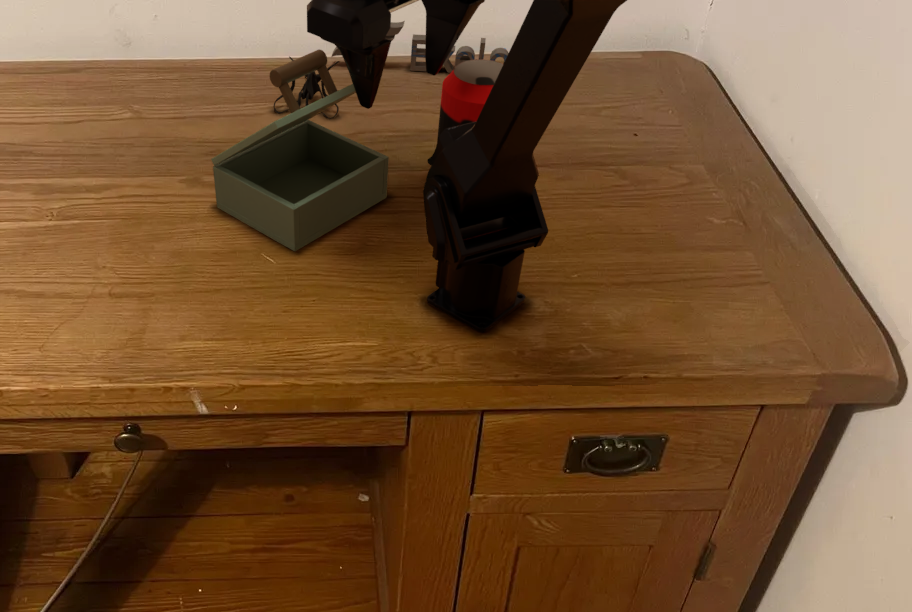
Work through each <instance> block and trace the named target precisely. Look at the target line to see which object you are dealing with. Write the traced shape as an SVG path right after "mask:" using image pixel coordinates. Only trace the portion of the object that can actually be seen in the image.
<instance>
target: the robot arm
mask: <svg viewBox="0 0 912 612" xmlns="http://www.w3.org/2000/svg"><path fill="white" fill-rule="evenodd" d="M419 1H420V0H310V1H309V2H308V3H307V5H306V32H307V33H309V34H311V35H313V36H317V37H318V38H320V39H321V40H323V41H325V42H328V43H330V44H333V45H334V46H335V48H336V47H337V48H338V49H339V50H340V52H341V54H342V55H341V56H342V58H343V61H344V63H345V65H346V68H347V70H348V74H349V77H350V79H351V82H352V84H353V85H354V88H355V91H356V93H355V94H356V97H357V100H358V103H359V105H360V107H362V108H365V109H367V110H369V109H372V107H373V105H374V103H375V100H376V97H377V95H378V91H379V88H380V84H381V80H382V76H383V72H384V69H385V65H386V62H387V59H388V56H389V51H390V48H391V44H392V41H391V40H388V39H386V38H385V37H386V35H387V33H388V31H389V29H390V27H391V22H392V13H393V12H396V11H398V10H401V9H403V8H405V7H407V6H409V5H412V4H414V3H417V2H419ZM485 1H486V0H421V3H422V6H423V7H424V9H425V35H426V44H424V45H425V58H424V60H425V62H426V71H425V72H426V73H427V74H429V75H431V76H436V75H438V74H439V72H440V71H441V69H442V68H443V67H442V65H443V64H444V62H445V60H446V59H447V57H448V55H449V53H450V52H451V50H452V48H453V47H454V46H456V45H455V44H457V42H458V40H459V38H460V37H461V36H462V33H463V32H464V30H465V28H466V27H467V26H468V24H469V22H470V21H471V19H472V18H473V16H474V15H475V13H476V12H477V10H478V8H479V7H480V6H481V4H484V3H485ZM627 1H628V0H533V1H532V3H531V5H530V7H529V9H528V11H527V13H526V15H525V17H524V19H523V22H522V24H521V25H520V28H519V30H518V32H517V35H516V37H515V38H514V41H513V43H512V45H511V47H510V49H509V51H508V56H507V58H506V60H505V62H504V61H503V63H504V64H503V63H502V64H503V66H502V68H501V70H500V72H499V75H498V77H497V79H496V81H495V83H494V85H493V87H492V89H491V92H490V94H489V96H488V98H487V100H486V102H485V104H484V106H483V108H482V111H481V113H480V115H479V117H478V119H477V121H476V122H471V123H467V124H463V125H459V126H454V127H450V128H446V129H444V131H443V132H442V133H441V135H440V136H439V138H438V137H437V138H438V142H437V141H436V145H435V149H434V152H433V153H432V155H431V156H430V157H429V158H427V160H426V161H427V164H428V165H429V166H430V167H429V169H428V171H427V173H426V178H425V182H424V185H423V190H422V197H423V204H424V205H423V207H424V208H423V209H424V217H425V229H426V236H427V242H428V244H429V245H430V246H431V247H432V258H433V259H434V260H435V261H437V264H436V273H435V287H436V288H437V289H436V290H433V292H431V293H429V294H428V295H427V296H426V303H427V304H428V305H430V306H432V307H434V308H436V309H437V310H439V311H441V312H443V313H444V314H446V315H448V316H449V317H451V318H453V319H455V320H457V321H459V322H460V323H462V324H464V325H466V326H468V327H470V328H472V329H474V330H475V331H477V332H478V333H486V332H487V331H489V330H490V329H491V328H493V327H494V326H495V325H497V324H498V323H499V322H501V321H503V319H505V318H506V317H507V316H508V315H510V314H511V313H512V312H514V311H515V310H516V309H517V308H519V307H521V306H522V305H523V304H524V303H525V302H526V295H525V294H523V293H522V292H520V291H519V285H520V279H521V273H522V268H523V262H524V257H525V252H526V251H525V250H527V249H531V248H538V247H541V246H542V245H543V243H544V241H545V239H546V238H547V236H548V234H549V227H548V224H547V221H546V218H545V214H544V211H543V207H542V203H541V201H540V198H539V194H538V192H537V188H536V184H537V181H538V178H539V177H540V172H539V170H538V166H537V162H536V158H535V156H534V152H535V149H536V147H537V146H538V144H539V142H540V140H541V139H542V138H543V136H544V133H545V132H546V131H547V128H548V127H549V125H550V123H551V122H552V120H553V119H554V117H555V115H556V113H557V112H558V110H559V108H560V106H561V104H562V102H563V101H564V99H565V98H566V96H567V95H568V93H569V91H570V89H571V87H572V86H573V84H574V82H575V80H577V77H578V75H579V74H580V72H581V70H582V69H583V67H584V65H585V63H586V62H587V60H588V58H589V56H590V55H591V53H592V51H593V50H594V48H595V46H596V45H597V43H598V41H599V39H600V38H601V36H602V34H603V32H604V31H605V29H606V27H607V25H608V24H609V22H610V20H611V19H612V17H613V15H614V14H615V13H616V11H617V10H618V9H619V8H620V7H621V6H622V5H623V4H624V3H626V2H627ZM443 66H444V65H443ZM441 67H442V68H441Z"/></svg>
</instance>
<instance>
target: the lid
mask: <svg viewBox="0 0 912 612" xmlns="http://www.w3.org/2000/svg"><path fill="white" fill-rule="evenodd" d="M327 64H328V56H327V54H326V53H325V51H324V50H322V49H316V50H314V51H312V52H310V53H307V54H304V55H303V56H300V57H298V58H296V59H293V61H292V60H291V61H289V62H287V63H285V64H283V65H280V66H278V67H275V68H273V69H271V70H270V72H269V80H270V83H271V84H272V86H274V87H275V88H278V89H279V91H280V93H281V95H282V96H283V97H282V98H283V100H284V102H285V104H286V107H287V109H289V110H288V111H289V112H290V113H288V114H287V115H285V116H282V117H280V118H278V119H276V120H274V121H272V122H270V123H269V124H267V125H266V126H264V127H262V128H261V129H259V130H257V131H256V132H254V133H252V134H250V135H249V136H247V137H245V138H244V139H243V140H241V141H239V142H237V143H235V144H234V145H231V146H230V147H229V148H227V149H225V150H223V151H222V152H221V153H218V154H217V155H215V156H214V157H212V158H210V161H211V162H212V164H213V166H215V165H217V164H219V163H221V162H223V161H225V160H227V159H229V158H231V157H233V156H235V155H237V154H239V153H241V152H243V151H245V150H247V149H249V148H251V147H253V146H255V145H257V144H260V143H262V142H264V141H266V140H268V139H270V138H272V137H274V136H276V135H278V134H280V133H282V132H284V131H286V130H288V129H290V128H292V127H294V126H296V125H298V124H300V123H302V122H304V121H306V120H311V119H312V118H314V117H315V116H317V115H319V114H322V113H324V111H327V109H330V108H331V107H333V106H335V104H337V105H338V104H339V103H340V102H342V101H344V100H345V99H347V98H349V97H351V96H352V95H354V94H356V91H355V88H354V85H353V83H351V84H349V85H347V86H345V87H342V88H340V89H339V90H338V88H337V86H336V84H335V82H334V80H333V78H332V75H331V73H330V70H329V71H328V69H327V68H328V67H327ZM314 71H315V72H316V71H317V74H319V75H320V77H321V80H322V82H323V84H324V89H325V91H326V93H327V95H328V96H326V97H324V96H323V98H322V99H321V98H320V99H317V100H316V101H314V102H312V103H309V105H307V106H305V105H304V107H302V108H300V107H301V106H300V107H299V105H298V102H297V101H298V100H297V99H296V97H295V95H294V93H293V92H292V91H291V89H290V88H291V85H290V84H289V83H292V81H294V80H295V81H296V80H299V79H300V78H303V77H305V75H307V74H309V73H311V72H314ZM321 80H320V81H321ZM321 112H322V113H321Z"/></svg>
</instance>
